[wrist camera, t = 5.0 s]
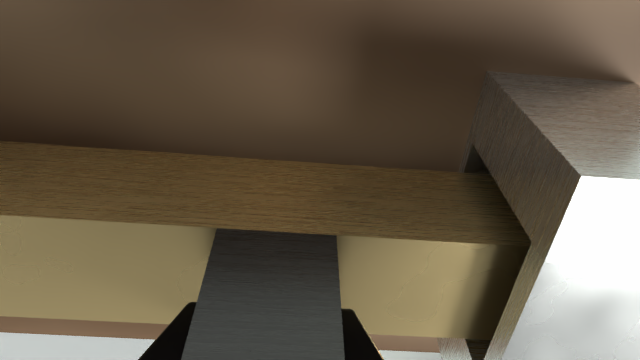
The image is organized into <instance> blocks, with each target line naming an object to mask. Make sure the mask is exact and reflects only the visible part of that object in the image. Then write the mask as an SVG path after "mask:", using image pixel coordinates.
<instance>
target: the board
mask: <svg viewBox="0 0 640 360" xmlns="http://www.w3.org/2000/svg"><path fill="white" fill-rule="evenodd" d="M486 71H494V72H507V73H519V74H531V75H544V76H556V77H568V78H581V79H593V80H606V81H618V82H630V83H636V84H638V85H639V86H640V0H0V141H5V142H20V143H34V144H49V145H64V146H78V147H93V148H107V149H122V150H137V151H151V152H166V153H181V154H195V155H210V156H225V157H239V158H254V159H268V160H283V161H298V162H312V163H327V164H342V165H356V166H371V167H385V168H400V169H415V170H429V171H444V172H459V169H460V165H461V161H462V158H463V154H464V151H465V147H466V143H467V140H468V136H469V133H470V129H471V125H472V122H473V118H474V115H475V111H476V107H477V104H478V100H479V97H480V93H481V89H482V86H483V82H484V79H485V75H486ZM168 325H169V324H152V323H131V322H110V321H90V320H69V319H49V318H28V317H7V316H0V332H8V333H29V334H50V335H72V336H93V337H115V338H136V339H157V338H158V337H159V335H160V334H161V333H162V332H163V331H164V330H165V329H166V328H167V326H168ZM369 336H370V337H371V339H372V341H373V342H374V344H375V346H376V347H377V349H378V350H393V351H414V352H436V353H440V350H439V346H438V342H437V338H436V337H420V336H399V335H378V334H369Z"/></svg>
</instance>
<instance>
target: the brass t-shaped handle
mask: <svg viewBox="0 0 640 360" xmlns="http://www.w3.org/2000/svg"><path fill="white" fill-rule="evenodd" d="M531 243H532V241H531V240H530V238H529V236H528V235H527V233H526V232H525V230H524V228H523V227H522V225H521V223H520V222H519V220H518V218H517V217H516V215H515V213H514V212H513V210H512V208H511V207H510V205H509V203H508V202H507V200H506V198H505V197H504V195H503V193H502V192H501V190H500V188H499V187H498V185H497V183H496V182H495V180H494V178H493V177H492V175H488V174H473V173H459V172H444V171H429V170H415V169H400V168H385V167H371V166H356V165H342V164H327V163H312V162H298V161H283V160H268V159H254V158H239V157H225V156H210V155H195V154H181V153H166V152H151V151H137V150H122V149H107V148H93V147H78V146H64V145H49V144H34V143H20V142H5V141H0V316H7V317H28V318H49V319H69V320H90V321H110V322H131V323H152V324H170V323H171V322H172V321H173V320H174V318H175V317H176V316H177V315H178V314H179V313H180V312H181V310H182V309H183V308H184V307H185V306H186V305H187V304H188V303H189V302H197V303H196V307H195V310H194V314H193V318H192V321H191V325H190V329H189V332H188V336H187V340H186V343H185V347H184V350H183V354H182V358H181V360H345V356H344V341H343V326H342V311H341V308H345V309H352V310H354V311H355V313H356V314H357V316H358V318H359V319H360V321H361V323H362V324H363V326H364V328H365V329H366V331H367V333H368V334H378V335H399V336H420V337H440V338H461V339H481V340H492V338H493V336H494V333H495V331H496V328H497V326H498V323H499V321H500V319H501V316H502V314H503V311H504V309H505V306H506V304H507V301H508V299H509V296H510V294H511V292H512V289H513V287H514V284H515V282H516V279H517V277H518V274H519V272H520V269H521V267H522V265H523V262H524V260H525V257H526V255H527V252H528V250H529V247H530V245H531Z"/></svg>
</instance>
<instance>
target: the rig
mask: <svg viewBox="0 0 640 360" xmlns="http://www.w3.org/2000/svg"><path fill="white" fill-rule="evenodd" d="M459 173H473V174H488V175H492V177H493V178H494V180H495V182H496V183H497V185H498V187H499V188H500V190H501V192H502V193H503V195H504V197H505V198H506V200H507V202H508V203H509V205H510V207H511V208H512V210H513V212H514V213H515V215H516V217H517V218H518V220H519V222H520V223H521V225H522V227H523V228H524V230H525V232H526V233H527V235H528V236H529V238H530V240H531V241H532V243H531V245H530V247H529V250H528V252H527V255H526V257H525V260H524V262H523V265H522V267H521V269H520V272H519V274H518V277H517V279H516V282H515V284H514V287H513V289H512V292H511V294H510V296H509V299H508V301H507V304H506V306H505V309H504V311H503V314H502V316H501V319H500V321H499V323H498V326H497V328H496V331H495V333H494V336H493V338H492V340H481V339H461V338H440V337H436V338H437V342H438V346H439V350H440V353H441V357H442V360H640V86H639V85H638V84H636V83H630V82H618V81H606V80H593V79H581V78H568V77H556V76H544V75H531V74H519V73H507V72H494V71H486V75H485V79H484V82H483V86H482V89H481V93H480V97H479V100H478V104H477V107H476V111H475V115H474V118H473V122H472V125H471V129H470V133H469V136H468V140H467V143H466V147H465V151H464V154H463V158H462V161H461V165H460V169H459Z"/></svg>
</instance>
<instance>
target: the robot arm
mask: <svg viewBox="0 0 640 360" xmlns="http://www.w3.org/2000/svg"><path fill="white" fill-rule="evenodd" d="M196 303H197V302H189V303H188V304H187V305H186V306H185V307H184V308H183V309H182V310H181V312H180V313H179V314H178V315H177V316H176V317H175V318H174V320H173V321H172V322H171V323H170V324H169V325H168V326H167V328H166V329H165V330H164V331H163V332H162V333H161V334H160V335H159V337H158V338H157V339H156V340H155V341H154V342H153V343H152V345H151V346H150V347H149V348H148V349H147V350H146V351H145V353H144V354H143V355H142V356H141V357H140V358H139V359H138V360H181V358H182V354H183V350H184V347H185V343H186V340H187V336H188V332H189V329H190V325H191V321H192V318H193V314H194V310H195V307H196ZM341 311H342V326H343V341H344V356H345V360H384V359H383V357H382V356H381V354H380V352H379V351H378V349H377V347H376V346H375V344H374V342H373V341H372V339H371V337H370V336H369V334H368V333H367V331H366V329H365V328H364V326H363V324H362V323H361V321H360V319H359V318H358V316H357V314H356V313H355V311H354V310H352V309H345V308H341Z"/></svg>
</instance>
